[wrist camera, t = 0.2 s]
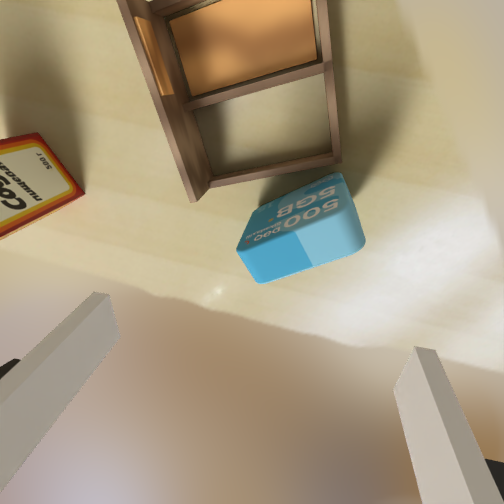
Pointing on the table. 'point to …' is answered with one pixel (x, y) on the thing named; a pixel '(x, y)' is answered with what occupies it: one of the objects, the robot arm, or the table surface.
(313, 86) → the table surface
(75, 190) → the baking soda box
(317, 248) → the blue rounded block
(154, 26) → the rack
